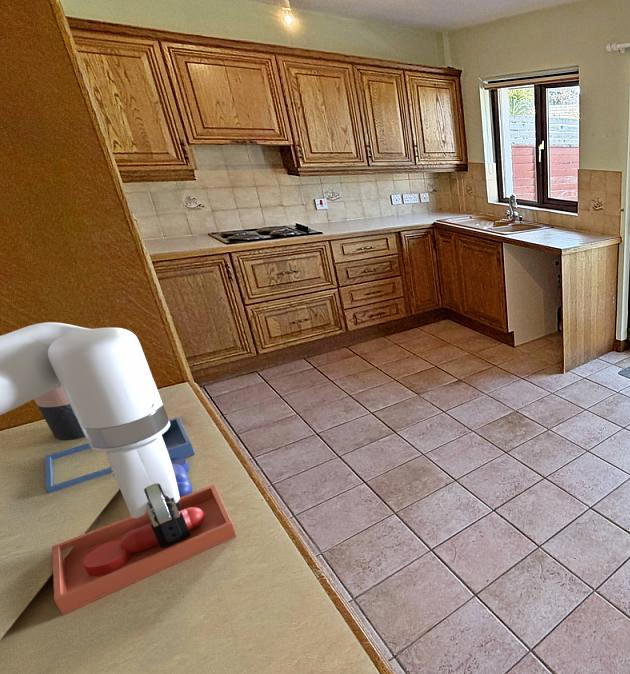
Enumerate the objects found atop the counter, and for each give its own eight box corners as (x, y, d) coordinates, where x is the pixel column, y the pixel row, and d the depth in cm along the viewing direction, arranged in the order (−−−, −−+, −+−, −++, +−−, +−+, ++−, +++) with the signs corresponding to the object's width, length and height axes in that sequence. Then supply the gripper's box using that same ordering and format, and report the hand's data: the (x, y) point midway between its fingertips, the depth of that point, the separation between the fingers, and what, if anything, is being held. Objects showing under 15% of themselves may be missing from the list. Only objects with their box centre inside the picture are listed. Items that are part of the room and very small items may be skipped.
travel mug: (115, 420, 92) (74, 325, 84) (117, 437, 87) (73, 338, 79) (58, 435, 87) (8, 335, 79) (56, 454, 82) (3, 350, 74)
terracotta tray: (236, 536, 68) (232, 523, 67) (62, 615, 56) (53, 600, 55) (218, 496, 75) (214, 484, 74) (59, 560, 63) (52, 546, 62)
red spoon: (203, 513, 71) (197, 497, 70) (210, 529, 68) (203, 512, 67) (85, 562, 62) (76, 544, 61) (88, 582, 60) (78, 564, 58)
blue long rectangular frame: (195, 454, 84) (190, 442, 83) (52, 502, 72) (45, 489, 71) (183, 427, 91) (179, 416, 90) (51, 468, 79) (44, 455, 78)
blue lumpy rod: (201, 497, 74) (195, 481, 73) (165, 512, 71) (158, 495, 70) (186, 461, 82) (180, 446, 81) (152, 473, 79) (146, 457, 78)
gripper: (81, 409, 62) (130, 516, 69) (89, 468, 52) (146, 586, 59) (157, 390, 67) (195, 491, 74) (177, 440, 57) (219, 551, 64)
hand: (173, 532), depth 67 cm, fingers closed on red spoon, 3 cm apart
